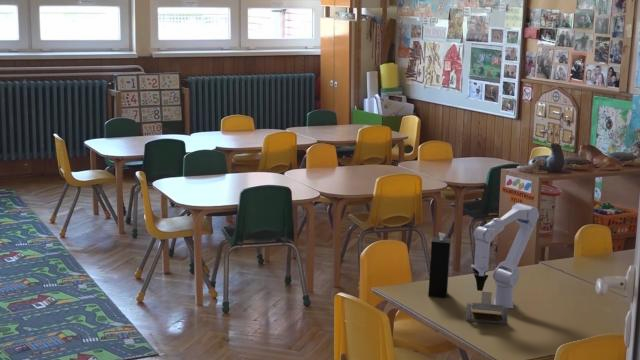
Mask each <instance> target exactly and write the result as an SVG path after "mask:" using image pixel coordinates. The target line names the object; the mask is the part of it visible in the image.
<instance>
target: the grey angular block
mask: <svg viewBox="0 0 640 360" xmlns="http://www.w3.org/2000/svg"><path fill="white" fill-rule="evenodd" d="M471 307H472V302H467V303H466V309H465V310H466V311H465V312H466V314H465V320H466V321H467V322H468V321H469V322H478V323H488V324H489V323H491V324H501V325H507V324H508V310H509V308H508V306H504V308H503V312H501V319H492V318H481V317H480V318H479V317H471V313H472V308H471Z"/></svg>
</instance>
